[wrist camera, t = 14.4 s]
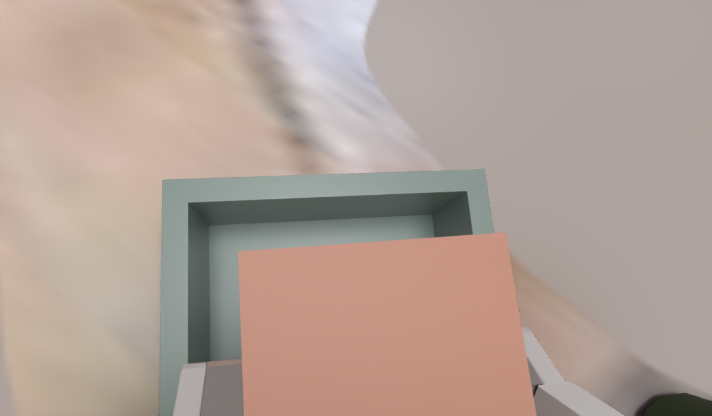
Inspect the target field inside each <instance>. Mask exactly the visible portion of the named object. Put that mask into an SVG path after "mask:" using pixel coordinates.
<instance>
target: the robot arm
mask: <svg viewBox="0 0 712 416" xmlns="http://www.w3.org/2000/svg"><path fill="white" fill-rule="evenodd" d="M522 332H523V338H524V344H525V350H526V356H527V362H528V368H529V374H530V380H531V386H532V392H533V397H534V403H535V409H536V415H537V416H624V415H622V414H621V413H619V412H618V411H616V410H615V409H613V408H612V407H610V406H609V405H607V404H605V403H604V402H602V401H601V400H599V399H598V398H596V397H595V396H593V395H592V394H590V393H588V392H587V391H585V390H584V389H582V388H581V387H579V386H578V385H576V384H575V383H573V382H571V381H567V382H565V381H564V379H563V378H562V376H561V375H560V373H559V372H558V370H557V369H556V367H555V366H554V364H553V363H552V361H551V360H550V358H549V357H548V356H547V354H546V353H545V351H544V350H543V348H542V347H541V345H540V344H539V342H538V341H537V339H536V338H535V336H534V335H533V333H532V332H531V330H530V329H528V328H527V327H522ZM173 416H244V404H243V376H242V359H233V360H221V361H209V362H199V363H189V364H184V366H183V368H182V370H181V374H180V379H179V384H178V389H177V395H176V400H175V405H174V411H173Z"/></svg>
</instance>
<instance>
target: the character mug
mask: <svg viewBox="0 0 712 416" xmlns="http://www.w3.org/2000/svg"><path fill="white" fill-rule="evenodd" d="M643 416H712V401H709V400H706V399H703V398H700V397H697V396H693V395H690V394H687V393H682V394H673V395H665V396H661V397H660V398H659V399H658V400H657V401H655V402H654V403H653V404H652V405H651V406H650V407H648V408H647V409H646V410H645V412H644V415H643Z"/></svg>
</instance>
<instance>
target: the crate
mask: <svg viewBox="0 0 712 416" xmlns="http://www.w3.org/2000/svg"><path fill="white" fill-rule="evenodd" d="M491 233H494V228H493V222H492V215H491V208H490V203H489V195H488V189H487V182H486V175H485V170H484V169H477V170H476V169H475V170H445V171H414V172H384V173H353V174H323V175H292V176H262V177H231V178H201V179H170V180H162V244H161V314H160V383H159V416H173V411H174V405H175V400H176V395H177V389H178V384H179V379H180V374H181V370H182V368H183V366H184V364H189V363H199V362H209V361H221V360H233V359H242V348H241V320H240V292H239V263H238V251H250V250H264V249H278V248H292V247H307V246H321V245H335V244H349V243H363V242H377V241H391V240H406V239H420V238H434V237H448V236H462V235H476V234H491Z"/></svg>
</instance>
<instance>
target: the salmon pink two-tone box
mask: <svg viewBox="0 0 712 416" xmlns="http://www.w3.org/2000/svg"><path fill="white" fill-rule="evenodd" d="M238 263H239V292H240V320H241V348H242V376H243V404H244V416H537V415H536V409H535V403H534V397H533V392H532V386H531V380H530V374H529V368H528V362H527V356H526V350H525V344H524V338H523V332H522V326H521V320H520V314H519V308H518V302H517V296H516V290H515V285H514V279H513V273H512V267H511V261H510V255H509V249H508V243H507V237H506V233H491V234H476V235H462V236H448V237H434V238H420V239H406V240H391V241H377V242H363V243H349V244H335V245H321V246H307V247H292V248H278V249H264V250H250V251H238Z"/></svg>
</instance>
